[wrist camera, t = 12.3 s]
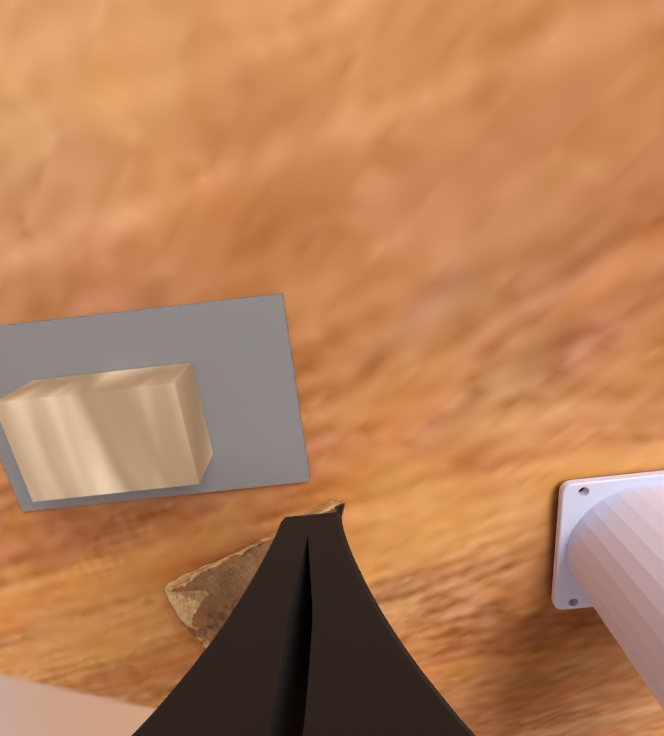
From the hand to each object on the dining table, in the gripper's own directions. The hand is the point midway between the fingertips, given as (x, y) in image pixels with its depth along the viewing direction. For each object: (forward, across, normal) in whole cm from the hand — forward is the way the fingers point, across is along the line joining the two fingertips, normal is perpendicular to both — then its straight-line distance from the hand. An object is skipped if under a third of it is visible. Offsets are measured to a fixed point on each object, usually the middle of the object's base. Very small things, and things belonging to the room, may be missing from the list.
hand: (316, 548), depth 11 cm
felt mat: (+10, +8, 0) cm, 13 cm away
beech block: (+8, +5, 0) cm, 10 cm away
